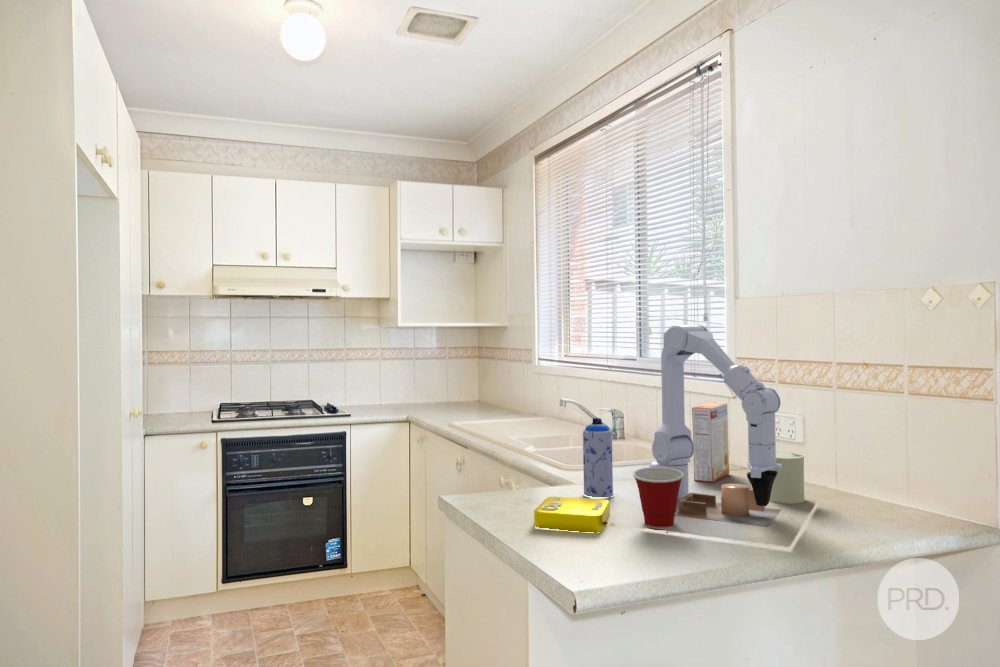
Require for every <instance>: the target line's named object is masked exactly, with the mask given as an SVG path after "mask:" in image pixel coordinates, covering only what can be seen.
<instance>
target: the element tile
mask: <svg viewBox="0 0 1000 667" xmlns="http://www.w3.org/2000/svg"><path fill="white" fill-rule="evenodd" d="M610 516H611V504H610V500H608V499H590V498H586V497H572V496H571V497H568V496H548V497H546V498H545V499H544V500H543V501H542V502H541V503H540V504H539V505H538V506H537V507H536V508H535V509H534V510H533V521H534V523H533V526H534V525H535V526H536V527H539V528H549V529H559V530H568V531H579V532H594V533H597V532H602V531H603V530H604V531H605V529H606V527H607V525H606V524H608V523H607V522H608V520H609V518H610ZM605 526H606V527H605ZM604 528H605V529H604ZM604 531H603V532H604ZM603 532H602V533H603Z"/></svg>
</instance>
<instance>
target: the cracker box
mask: <svg viewBox="0 0 1000 667" xmlns="http://www.w3.org/2000/svg"><path fill="white" fill-rule="evenodd" d="M728 414H729V413H728V403H727V402H712V401H711V402H707V403H703V404H700V405H697V406H692V407H691V415H692V416H691V417H692V418H691V420H692V440H693V443H694V447H695V450H694V454H693V456H692V457H693V479H694V481H695V482H706V483H714V482H717V481H718V480H721V479H722V478H723V477H725V476H727V475H729V474H730V461H729V460H730V451H729V420H728V419H729V418H728V417H729V416H728Z"/></svg>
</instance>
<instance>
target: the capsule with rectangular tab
mask: <svg viewBox="0 0 1000 667" xmlns="http://www.w3.org/2000/svg"><path fill="white" fill-rule="evenodd" d="M720 495H721V496H720V503H721V513H722V514H725V515H728V516H737V517H741V516H748V515H749V510H755V511H765V508H766V506H759V505H757V504H756V500H755V496H754V492H753V488H750V486H748V485H746V484H741V483H724V484H721V485H720Z"/></svg>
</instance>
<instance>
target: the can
mask: <svg viewBox="0 0 1000 667" xmlns="http://www.w3.org/2000/svg"><path fill="white" fill-rule="evenodd" d="M776 463H777V464H782V467H781V468H775V469H771V471H777V476H776V478H775V480H774V482H773V485H772V490H771V495H770V500H769V502H772V503H778V504H786V505H787V504H789V505H790V504H801V503H804V502H805V500H806V499H805V455H804V454H802V453H797V452H796V453H795V452H788V451H786V452H785V451H776Z"/></svg>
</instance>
